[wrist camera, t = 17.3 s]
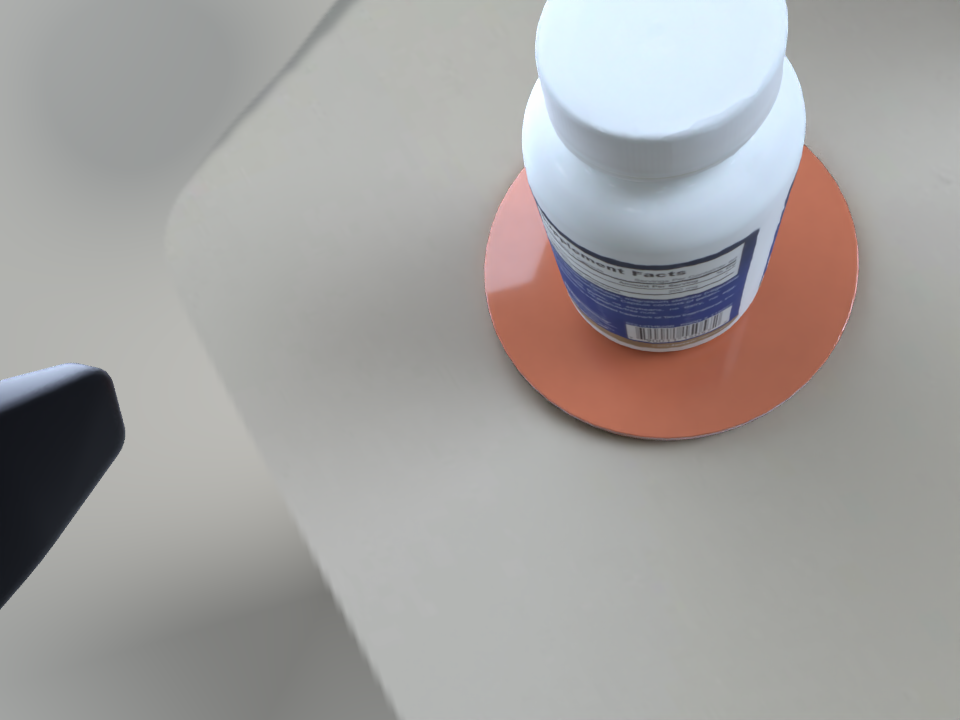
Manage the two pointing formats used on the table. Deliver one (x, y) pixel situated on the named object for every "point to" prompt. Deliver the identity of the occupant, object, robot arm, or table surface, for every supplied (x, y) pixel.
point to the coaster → (690, 372)
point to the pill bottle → (663, 159)
